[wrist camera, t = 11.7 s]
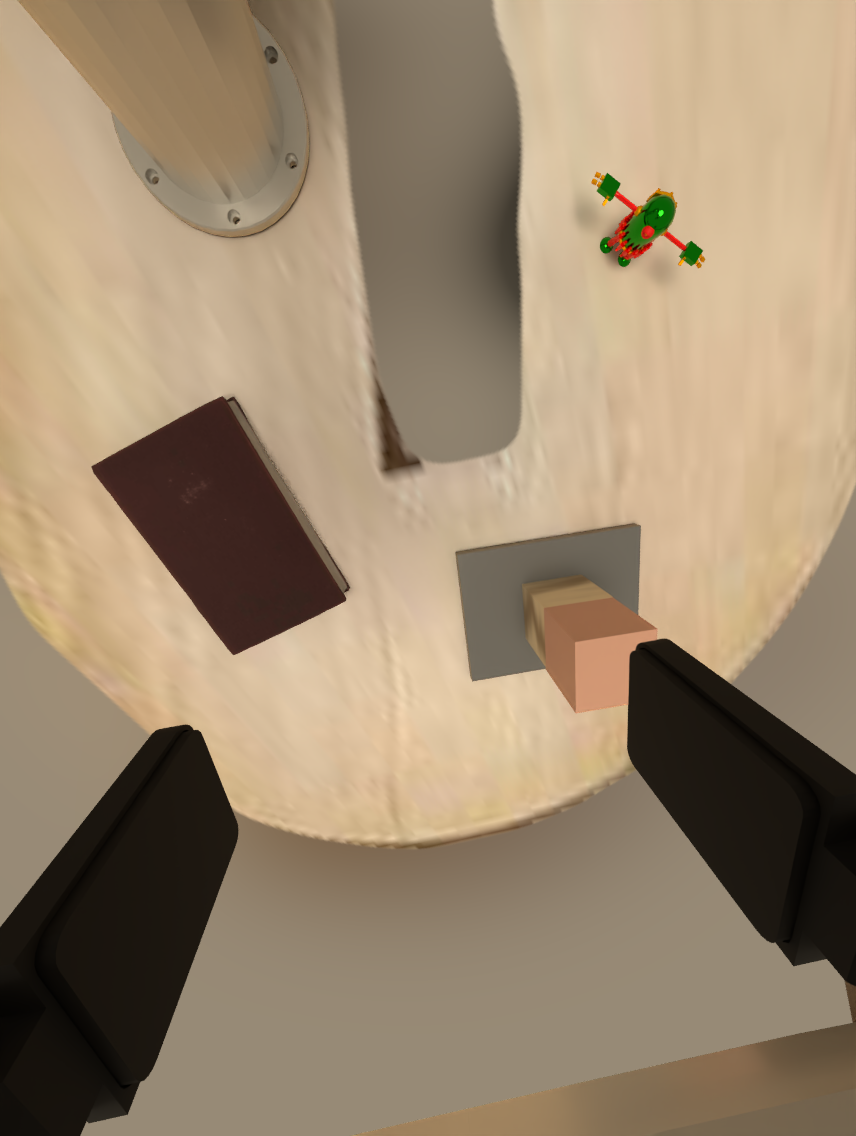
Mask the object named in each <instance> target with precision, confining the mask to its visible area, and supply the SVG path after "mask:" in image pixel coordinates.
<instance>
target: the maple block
mask: <svg viewBox="0 0 856 1136" xmlns="http://www.w3.org/2000/svg"><path fill="white" fill-rule="evenodd" d="M522 592H523V607H524V621H525V636H526V639H527V641H528V642H529V644H530V645H531V647H532V648H533V650H534V651H535V653H536V654H537V655H538V657H539V658H540V660H541V661H542V663H543V664H544V666H545V667H546V654H545V627H544V608H547V607H554V606H560V605H567V604H573V603H579V602H586V601H592V600H599V599H605V598H612V597H613V596H611V595H610V594H608V593H607V592H606V591H604V590H603V589H601V588H600V587H598V586H597V585H596V584H594V583H593V582H591V581H590V580H588V579H587V578H586V577H584V576H583V575H574V576H568V577H562V578H556V579H550V580H544V581H538V582H532V583H526V584H522Z"/></svg>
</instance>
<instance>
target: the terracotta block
mask: <svg viewBox="0 0 856 1136" xmlns="http://www.w3.org/2000/svg"><path fill="white" fill-rule="evenodd" d="M544 627H545V654H546V670H547V672H548V673H549V675H550V676H551V678H552V679H553V681H554V682H555V683H556V685H557V686H558V688H559V689H560V691H561V692H562V694H563V695H564V697H565V698H566V700H567V701H568V702H569V704H570V705H571V707H572V708H573V710H574V711H575V713H580V712H586V711H592V710H598V709H604V708H610V707H616V706H622V705H628V696H629V657H630V653H631V652H632V651H635V650H636V646H637V644H639V643H642V642H647V641H653V640H657V628H655V627H654V626H653V625H651V624H650V623H648V622H647V621H646V620H644V619H643V618H641V617H640V616H638V615H637V614H636V613H634V612H633V611H631V610H630V609H629V608H627V607H626V606H624V605H623V604H621V603H620V602H619V601H617V600H616V599H614V598H613V597H612V598H605V599H599V600H592V601H586V602H579V603H573V604H567V605H560V606H554V607H547V608H544Z"/></svg>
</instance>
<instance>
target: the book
mask: <svg viewBox="0 0 856 1136" xmlns="http://www.w3.org/2000/svg"><path fill="white" fill-rule="evenodd" d="M91 467H92V469H93V472H94V474H95V475H96V477H97V478H98V479H99V480H100V482H101V483H102V484H103V486H104V487H105V488H106V490H107V491H108V492H109V493H110V494H111V496H112V497H113V498H114V500H115V501H116V502H117V504H118V505H119V506H120V508H121V509H122V511H123V512H124V513H125V514H126V516H127V517H128V518H129V520H130V521H131V522H132V524H133V525H134V526H135V527H136V529H137V530H138V531H139V532H140V534H141V535H142V536H143V538H144V539H145V540H146V542H147V543H148V544H149V545H150V547H151V548H152V549H153V551H154V552H155V553H156V555H157V556H158V557H159V559H160V560H161V561H162V563H163V564H164V565H165V567H166V568H167V569H168V571H169V572H170V573H171V575H172V576H173V577H174V578H175V580H176V581H177V582H178V584H179V585H180V586H181V587H182V589H183V590H184V591H185V592H186V594H187V595H188V596H189V598H190V599H191V600H192V602H193V603H194V605H195V606H196V608H197V609H198V611H199V612H200V613H201V614H202V616H203V617H204V618H205V619H206V621H207V622H208V623H209V625H210V626H211V628H212V629H213V630H214V632H215V633H216V634H217V635H218V637H219V638H220V639H221V640H222V642H223V643H224V644H225V646H226V647H227V649H228V650H229V651H230V652H231V653H232V654H233V655H235V654H238V653H240V652H242V651H244V650H246V649H248V648H250V647H253V646H255V645H257V644H259V643H261V642H263V641H265V640H268V639H270V638H272V637H274V636H276V635H278V634H280V633H282V632H284V631H286V630H288V629H290V628H292V627H294V626H297V625H299V624H301V623H303V622H305V621H307V620H309V619H311V618H313V617H315V616H317V615H319V614H321V613H323V612H325V611H327V610H329V609H331V608H333V607H335V606H337V605H339V604H341V603H343V602H345V601H346V597H345V595H344V592H346V591H348V590H349V588H350V587H349V586H348V584H347V582H346V580H345V578H344V577H343V575H342V573H341V572H340V570H339V569H338V567H337V565H336V564H335V562H334V560H333V559H332V557H331V556H330V554H329V552H328V551H327V549H326V547H325V546H324V545H323V543H322V542H321V540H320V538H319V537H318V535H317V534H316V532H315V531H314V529H313V528H312V526H311V525H310V523H309V521H308V520H307V518H306V517H305V515H304V513H303V512H302V510H301V509H300V507H299V505H298V504H297V502H296V501H295V499H294V497H293V496H292V494H291V493H290V491H289V489H288V488H287V486H286V484H285V483H284V481H283V480H282V478H281V477H280V475H279V473H278V472H277V470H276V469H275V467H274V465H273V464H272V462H271V460H270V459H269V457H268V456H267V454H266V452H265V451H264V449H263V447H262V446H261V444H260V442H259V440H258V438H257V437H256V435H255V433H254V431H253V429H252V427H251V426H250V424H249V422H248V420H247V418H246V416H245V414H244V412H243V411H242V409H241V407H240V405H239V404H238V402H237V401H236V399H235V398H234V397H232V398H230V399H228V400H225V398H224V397H223V396H222V397H220V398H218V399H216V400H213V401H211V402H209V403H207V404H205V405H203V406H201V407H199V408H197V409H195V410H194V411H192V412H190V413H188V414H186V415H184V416H182V417H180V418H179V419H177V420H175V421H173V422H172V423H170V424H168V425H166V426H164V427H162V428H160V429H158V430H157V431H155V432H153V433H152V434H150V435H148V436H146V437H144V438H142V439H140V440H138V441H137V442H135V443H133V444H131V445H129V446H128V447H126V448H124V449H122V450H120V451H118V452H117V453H115V454H113V455H111V456H109V457H108V458H106V459H104V460H103V461H101V462H99V463H97V464H95V465H93V466H91Z"/></svg>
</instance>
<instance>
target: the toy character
mask: <svg viewBox="0 0 856 1136" xmlns="http://www.w3.org/2000/svg"><path fill="white" fill-rule="evenodd" d="M600 176H601V173H598V172H596V174H595V177H597V178H600ZM600 179H601V180H602V182H598V184H597V186H598V189H597V192H598V193H600V194H601V195H602V196H603V197H605V198H606V199H605V200H604V202H603V204H602V205H603V206H605V204H606V203H607V201H611V200H612V199H613V197H614V196H615V197H616V198H618V199H619V200H620V201H621V202H623V203H624V204H625V205H626V206H628V207H629V208H630V209H631V210H633V211H632V212H631V213H630V214H629V215H628V216H626V217H625V218H624V219H623V220H622V221H621V222H620V223H619V227H618V228H617V230H616V231H615V234H617V233H619V234H617V235H616V236H615V237H614V238H612V239H611V238H610V237H605V238H603V239H602V241H601V243H600V249H601V251H602V252H603V253H609V252H610V251H611V250H612V248H613V245H614V244H615V243H618V242H619V243H620V244H619V245H618V246H617V248H616V249H615V251H618V250H620V249H622V250H623V252H621V253H620V254H619V257H618V262H619V265H620V266H622V267H625V266H627V265H628V264H629V263H630V261H631V258H632V257H633V258H636V257H639V256H640V255H642V254H643V253H644V252H645V251H647V250H648V249H649V248H650V247H651V246H652V242H653V241H654V240H655V239H656V238H658V237H659V236H663V235H664V236H665V237H666V238H668V239H669V240H670V241H671V242H673V243H674V244H675V245H676V246H678V247H679V248H680V249H681V250H683V251H682V253H681V255H680V256H679V257H680V258H681V261H680V262H679V264H678V265H679V266H681V265H682V263H683V262H684V261H685V262H687V263H688V264H689V265H690V266H692V265H694V264H697V265H696V266H697V267H698V268H700V267H701V266H702V265H701V263H700V262H699V261H698V258H700V261H701V262H704V261H705V258H704V257H702V254H701V253H702V252H703V250H702V249H700V248H699V247H698V246H697V245H696V244H694V243H693V242H692V241H690V242H689V243H687V244H686V246H685V245H684V244H682V243H681V242H680V241H679V240H678V239H676V238H675V237H674V236H673V235H671V234H670V233H669V232H668V231H667V230H668V227H669V226H670V225H671V224H672V222H673V219H674V216H675V213H676V207H677V202H675V200H674V197H673V192H671V193H668V192H664V191H660V188H658V190H657V191H656V192H655V193H653V194H652V195H651V196H650V197H649V198H648V199H647V203H646V204H645V205H643V206H638V207H636V206H635V205H634V204H633V203H632V202H630V201H629V200H628V199H627V198H625V197H624V196H623V195H622V194H620V193H619V192H618V191H617V190H618V188H619V186H620V183H619V182H618V181H617V180H615V179H614V178H613V177H612V176H611V175H609V174H608V173H607V174H606V175H605V176H604V175H602V176H601V178H600ZM591 183H592V184H594V185H596V183H597V180H595V179H593V180H592V182H591ZM698 262H699V263H698Z"/></svg>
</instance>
